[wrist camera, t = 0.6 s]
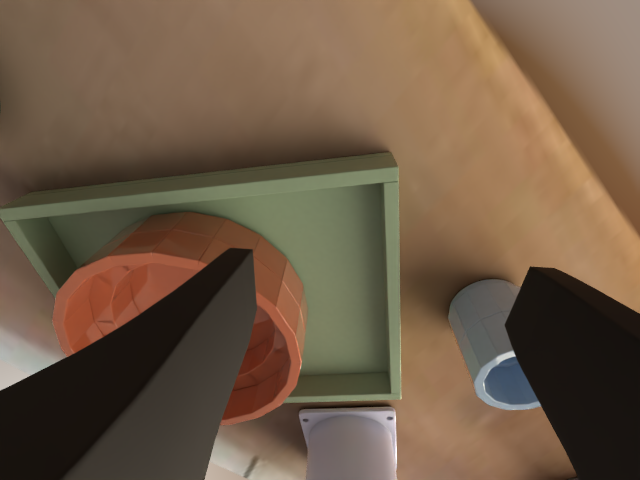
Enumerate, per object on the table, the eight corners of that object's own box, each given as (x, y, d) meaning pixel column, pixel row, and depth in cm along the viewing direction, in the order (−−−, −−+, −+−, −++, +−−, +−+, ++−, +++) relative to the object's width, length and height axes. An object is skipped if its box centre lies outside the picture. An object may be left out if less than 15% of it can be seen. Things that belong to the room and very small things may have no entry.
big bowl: (320, 357, 25) (315, 423, 21) (155, 365, 26) (119, 428, 22) (289, 195, 18) (273, 241, 14) (72, 217, 20) (-2, 265, 16)
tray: (396, 370, 25) (401, 399, 23) (145, 380, 28) (129, 408, 25) (391, 151, 17) (398, 166, 15) (31, 191, 19) (-7, 209, 17)
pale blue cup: (520, 332, 23) (567, 409, 18) (443, 336, 23) (469, 411, 18) (534, 273, 20) (594, 343, 15) (447, 279, 21) (479, 349, 16)
